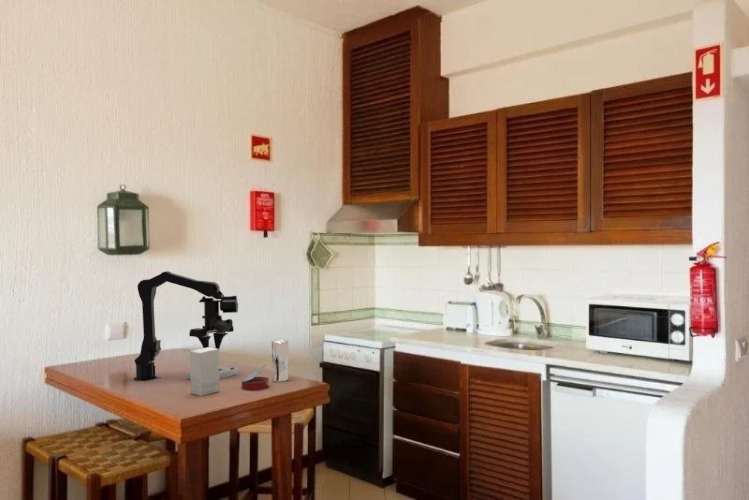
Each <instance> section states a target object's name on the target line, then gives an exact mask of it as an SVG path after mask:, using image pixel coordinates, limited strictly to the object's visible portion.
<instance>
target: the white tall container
mask: <svg viewBox="0 0 749 500" xmlns="http://www.w3.org/2000/svg"><path fill="white" fill-rule="evenodd" d="M289 345H290V344H289V340H282V339H280V340H272V341H271V344H270V356H271V364H272V368H273V370H272V371H273V375H272V381H273V382H277V383H278V382H279V383H280V382H286V381H289V374H288V366H289V365H288V364H289V361H290V346H289Z"/></svg>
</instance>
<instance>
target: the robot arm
mask: <svg viewBox="0 0 749 500" xmlns="http://www.w3.org/2000/svg"><path fill="white" fill-rule="evenodd" d="M165 283H170V284H175V285H176V286H177V285H178V286H181V287H184V288H189V289H192V290H194V291H196V292H198V293H199V294H201V295H204V296H202V297H201V299H199V301H198V302H199V303H204V304H203V305H204V306H203V307H204V310H203V312H204V315H202V319H204V325H202V328H201V327H197V328H191V329H190V330H189V337H192V338H193V337H194V338H197V339H198V341H199V342H200V343H201V346H202V347H203V348H207V347H209V346H210V339H211V337H212V336H211V335H210V334H212V335H213V340H214V341H213V343H214V346H215V347H214V348H216V349H219V350H220V347H221V344H222V342H223V339H224V337H226V335H228V333H231V332H234V325H233V323H234V322H233V319H231V318H228V319H226V320H225V319H223V316H222V315H220V311H222V313H223V314H225V313H226V314H227V313H228V314H229V313H233V314H234V313H236V314H237V313H238V312H239V303H238V296H237V295H231V296H229V295H227V296H225V295H224V293H223V292H222V291H221V290H220V286H219V285H220V284H218V283H217V282H215V281H208V280H197V279H195V278H190V277H187V276H185V275H180V274H176V273H173V272H171V271H168V270H166V271H163V272H161V273H160V274H158V275H156V276H154V277H151V278H146V279H141V280H140V281H139V282H138V284H137V292H138V296H139V300H140V301H141V306H142V308H141V309H142V325H143V327H142V328H143V338H142V343H141V348H140V354H139V355H138V356H137V357H136V358H135V359H134V364H135V377H133V380H138V381H147V380H152V379H157V378H158V376H157V375H156V365H155V359H156V358H157V357H158V356H159V355H160V353H161V350H162V348H161V341H162V339H158V340H157V337H156V326H155V325H156V323H155V304H154V301H155V299H156V298H155V297H156V293H157V288H158V287H160V286H162V285H165Z"/></svg>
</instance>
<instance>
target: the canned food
mask: <svg viewBox="0 0 749 500" xmlns="http://www.w3.org/2000/svg"><path fill="white" fill-rule="evenodd" d="M265 367H266V364H264V365H263V366H262V367H260V368H259V369H256V370H255V371H253V372H251V373H250V374H248V375H246V377H244V378H243V379H242V380H241V389H242V390H244V391H262V389H263V390H266V389H268V388H270V387H269V386H270V381H269V378H268V377H266V376H258V375H260V374H261V372H262V371H263V369H264V368H265Z"/></svg>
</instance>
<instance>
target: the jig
mask: <svg viewBox="0 0 749 500" xmlns="http://www.w3.org/2000/svg"><path fill="white" fill-rule="evenodd" d="M238 374H239V370H238V367H231V366H230V367H229V366H221V365H219V380H221V379H224V378H228V377H232V376H235V375H238ZM186 379H188V380H191V371H187V372H186Z"/></svg>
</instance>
